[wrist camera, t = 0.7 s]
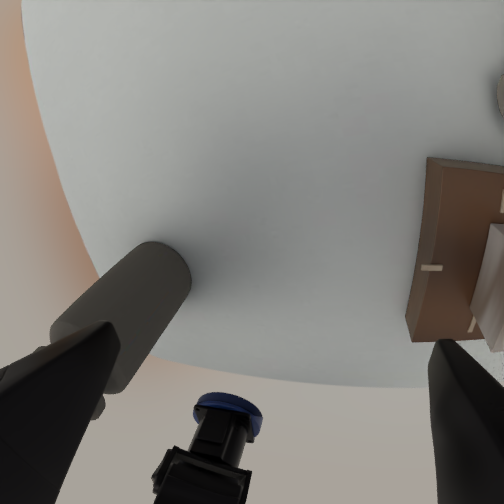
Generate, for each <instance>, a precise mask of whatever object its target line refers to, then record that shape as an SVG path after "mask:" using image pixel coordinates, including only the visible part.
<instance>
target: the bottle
mask: <svg viewBox="0 0 504 504" xmlns="http://www.w3.org/2000/svg"><path fill="white" fill-rule="evenodd" d="M190 288H191V275H190V272H189V269H188V267H187V265H186V263H185V262H184V260H183V259H182V258H181V256H180V255H179V254H178V253H176V252H175V251H174V250H173V249H171V248H170V247H168V246H166V245H163V244H161V243H156V242H147V243H143V244H140V245H139V246H137V247H136V248H134V249H133V250H132V251H131V252H129V253H128V254H127V255H126V256H125V257H124V258H123V259H121V260H120V261H119V262H118V263H117V264H116V265H114V266H113V267H112V268H111V269H110V270H109V271H108V272H107V273H105V274H104V275H103V276H102V277H101V278H100V279H99V280H98V281H97V282H95V283H94V284H93V285H92V286H91V287H90V288H89V289H88V290H87V291H86V292H85V293H83V294H82V295H81V296H80V297H79V298H78V299H77V300H76V301H75V302H74V303H73V304H72V305H71V306H70V307H69V308H68V309H67V310H66V311H65V312H64V313H63V314H62V315H61V316H60V317H59V318H58V319H57V320H56V321H55V322H54V323H53V325H52V326H51V329H50V342H51V344H52V343H54V342H56V341H58V340H60V339H62V338H64V337H66V336H68V335H70V334H72V333H74V332H76V331H78V330H80V329H82V328H84V327H86V326H88V325H90V324H92V323H94V322H96V321H99V320H105V321H110V322H112V323H113V325H114V327H115V329H116V332H117V334H118V336H119V339H120V341H121V350H120V352H119V355H118V358H117V360H116V363H115V365H114V368H113V370H112V373H111V376H110V378H109V381H108V384H107V386H106V389H105V391H104V394H116V393H120V392H122V391H123V390H124V389H125V388H126V386H127V385H128V384H129V382H130V381H131V379H132V378H133V376H134V375H135V373H136V372H137V370H138V369H139V367H140V366H141V364H142V363H143V361H144V360H145V358H146V357H147V355H148V354H149V352H150V351H151V349H152V348H153V346H154V345H155V343H156V342H157V340H158V339H159V337H160V336H161V334H162V333H163V331H164V330H165V328H166V327H167V326H168V324H169V323H170V321H171V320H172V318H173V317H174V315H175V314H176V312H177V311H178V309H179V308H180V306H181V305H182V303H183V302H184V300H185V298H186V297H187V295H188V293H189V291H190ZM44 347H46V346H41V347H38V348H37V349H36V350H35V351H34V352H36V351H38V350H40V349H42V348H44ZM34 352H33V353H34ZM104 409H105V399H104V397H103V395H102V397H101V399H100V401H99V403H98V405H97V408H96V410H95V412H94V414H93V416H92V418H91V420H96V419H97V418H99V416H100V415H101V414H102V412H103V410H104Z"/></svg>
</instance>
